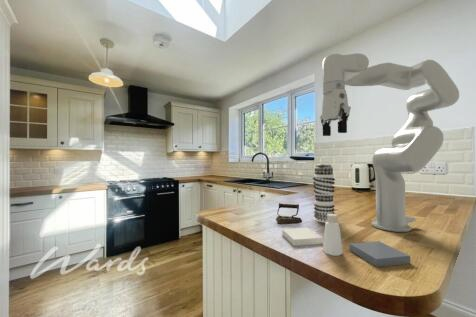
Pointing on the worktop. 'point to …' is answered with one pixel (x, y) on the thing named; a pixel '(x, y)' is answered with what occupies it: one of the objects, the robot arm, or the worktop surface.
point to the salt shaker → (332, 236)
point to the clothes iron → (287, 218)
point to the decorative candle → (323, 192)
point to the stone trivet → (302, 236)
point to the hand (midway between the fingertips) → (334, 134)
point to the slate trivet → (379, 254)
